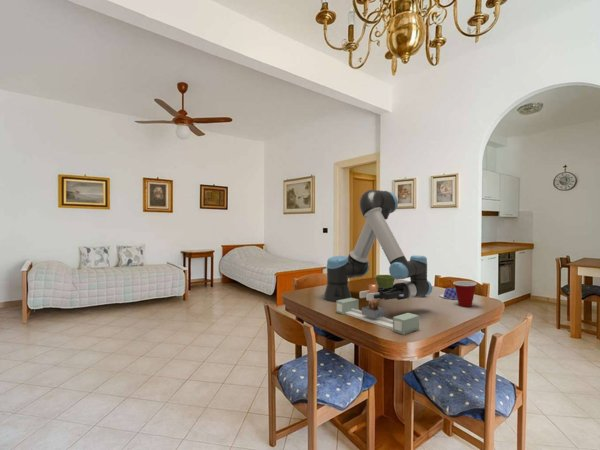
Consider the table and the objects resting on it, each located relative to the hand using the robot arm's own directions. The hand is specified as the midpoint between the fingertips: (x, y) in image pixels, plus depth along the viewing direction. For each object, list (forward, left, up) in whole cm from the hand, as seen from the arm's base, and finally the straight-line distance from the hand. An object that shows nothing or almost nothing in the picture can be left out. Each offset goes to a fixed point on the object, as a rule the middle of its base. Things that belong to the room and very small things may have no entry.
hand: (363, 296), depth 132 cm
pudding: (+1, +73, -11) cm, 74 cm away
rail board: (+2, +5, -11) cm, 12 cm away
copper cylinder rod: (+1, +5, -9) cm, 10 cm away
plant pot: (-25, +47, -11) cm, 55 cm away
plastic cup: (+14, +61, -11) cm, 64 cm away
